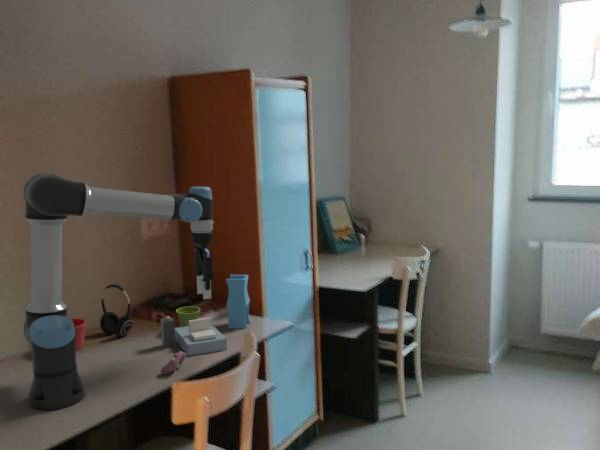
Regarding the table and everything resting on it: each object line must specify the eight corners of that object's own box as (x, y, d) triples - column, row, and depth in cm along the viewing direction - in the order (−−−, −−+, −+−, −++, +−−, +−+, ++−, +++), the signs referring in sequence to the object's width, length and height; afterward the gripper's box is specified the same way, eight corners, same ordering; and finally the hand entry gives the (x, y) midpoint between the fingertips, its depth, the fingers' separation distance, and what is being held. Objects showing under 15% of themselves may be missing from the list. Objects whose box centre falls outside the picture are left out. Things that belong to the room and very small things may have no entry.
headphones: (111, 328, 231) (109, 280, 228) (139, 334, 224) (137, 284, 221) (94, 335, 224) (91, 284, 221) (123, 341, 217) (120, 289, 214)
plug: (164, 348, 209) (162, 319, 207) (161, 345, 212) (160, 316, 211) (175, 346, 211) (174, 317, 209) (172, 343, 214) (171, 314, 213)
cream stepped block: (194, 340, 204) (194, 326, 203) (189, 334, 211) (188, 320, 210) (216, 337, 207) (216, 323, 207) (210, 330, 215) (209, 317, 214)
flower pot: (62, 356, 202) (60, 329, 201) (51, 348, 210) (49, 322, 209) (92, 349, 209) (90, 323, 207) (80, 341, 217) (79, 316, 216)
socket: (188, 355, 202) (188, 344, 201) (174, 338, 219) (174, 328, 219) (226, 349, 208) (226, 338, 207) (210, 332, 225) (210, 323, 225)
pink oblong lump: (170, 380, 185) (179, 362, 183) (158, 373, 185) (167, 355, 184) (183, 368, 195) (191, 351, 193) (171, 361, 195) (179, 344, 194)
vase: (231, 321, 239) (230, 274, 236) (250, 322, 238) (249, 274, 235) (227, 328, 231) (225, 279, 228) (246, 328, 230) (245, 279, 227)
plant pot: (206, 329, 229) (205, 308, 228) (189, 336, 221) (188, 314, 220) (188, 325, 234) (187, 305, 233) (171, 332, 226) (170, 310, 225)
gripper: (221, 234, 193) (223, 301, 197) (204, 226, 211) (206, 288, 214) (199, 236, 190) (201, 304, 193) (184, 228, 208) (186, 290, 211)
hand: (204, 295), depth 204 cm, fingers open, 7 cm apart
